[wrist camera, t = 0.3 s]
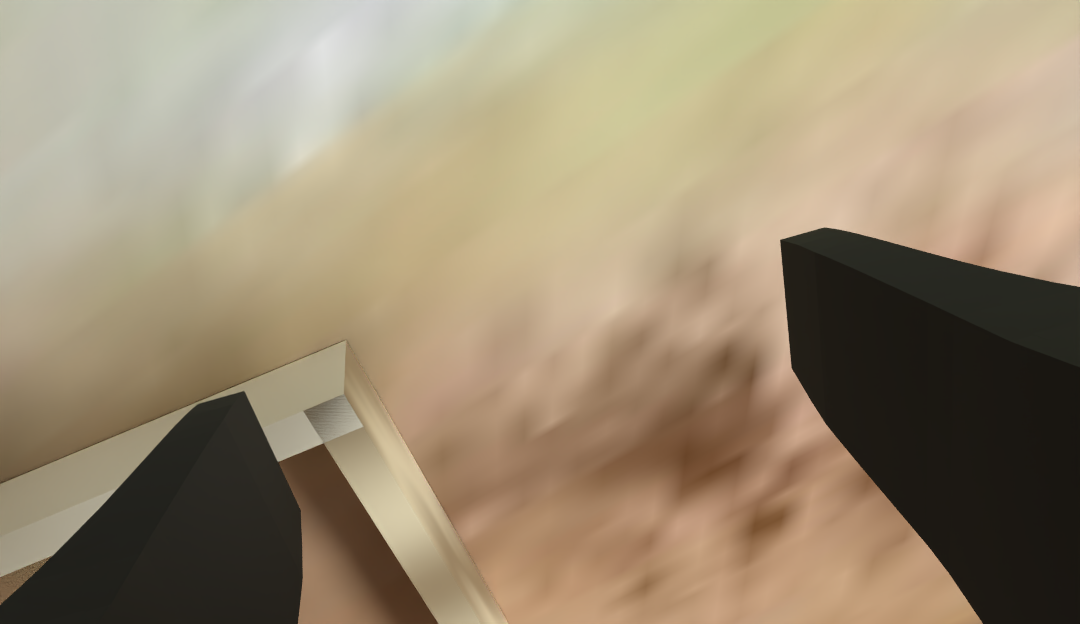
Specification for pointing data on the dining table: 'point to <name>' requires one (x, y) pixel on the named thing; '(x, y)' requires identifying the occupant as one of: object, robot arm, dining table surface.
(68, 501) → the bay
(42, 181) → the dining table surface
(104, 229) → the dining table surface
